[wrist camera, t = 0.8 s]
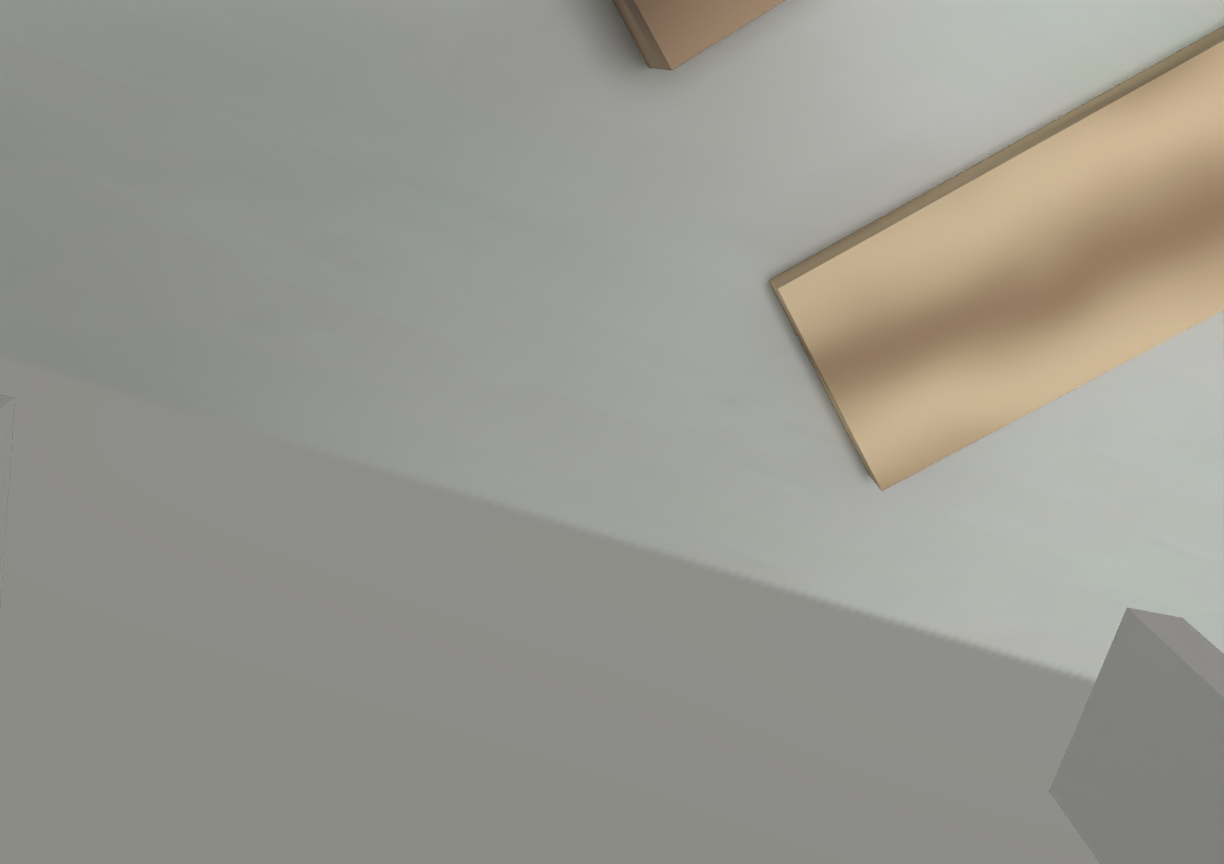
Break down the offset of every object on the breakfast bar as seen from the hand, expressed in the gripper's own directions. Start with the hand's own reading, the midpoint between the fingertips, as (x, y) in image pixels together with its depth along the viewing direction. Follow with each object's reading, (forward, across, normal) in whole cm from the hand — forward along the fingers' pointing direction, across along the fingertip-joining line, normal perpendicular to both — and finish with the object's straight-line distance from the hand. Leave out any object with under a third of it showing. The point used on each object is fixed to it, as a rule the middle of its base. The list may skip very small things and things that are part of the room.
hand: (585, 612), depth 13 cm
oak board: (+24, +17, +4) cm, 30 cm away
